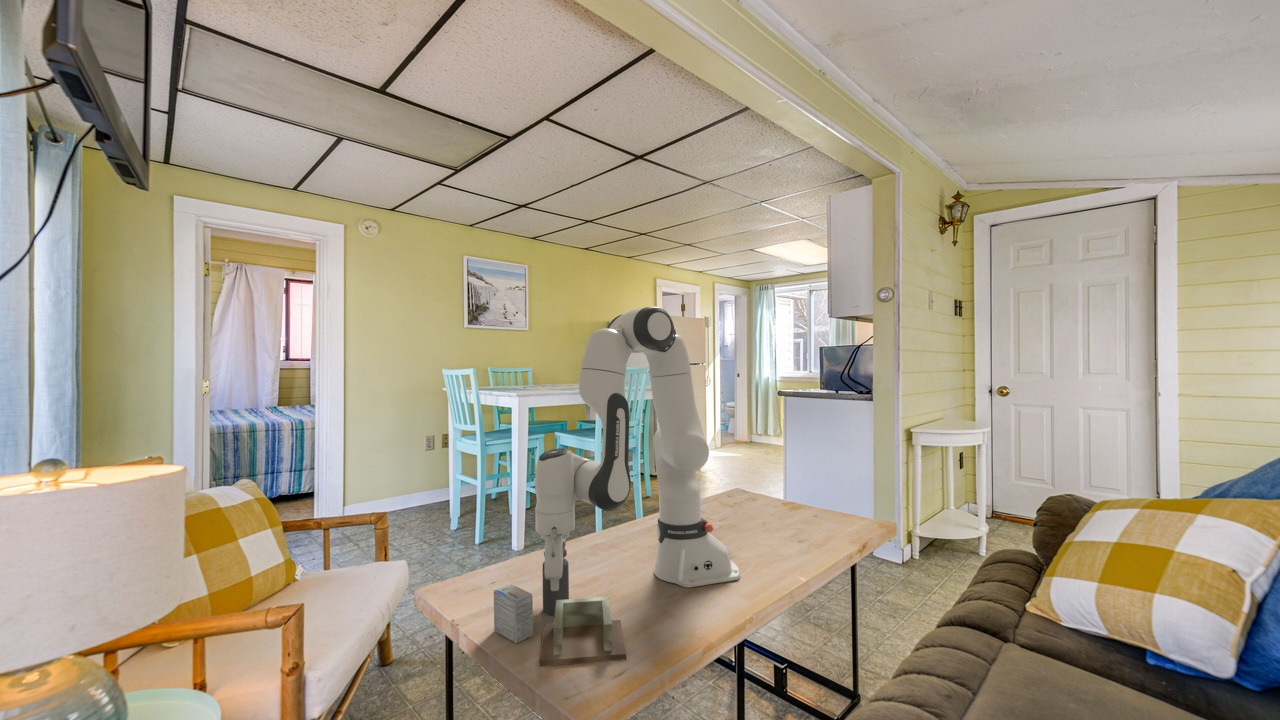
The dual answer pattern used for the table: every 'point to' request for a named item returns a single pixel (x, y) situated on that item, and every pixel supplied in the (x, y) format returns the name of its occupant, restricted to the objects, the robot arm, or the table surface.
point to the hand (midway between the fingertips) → (555, 582)
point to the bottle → (563, 591)
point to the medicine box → (513, 613)
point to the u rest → (582, 633)
